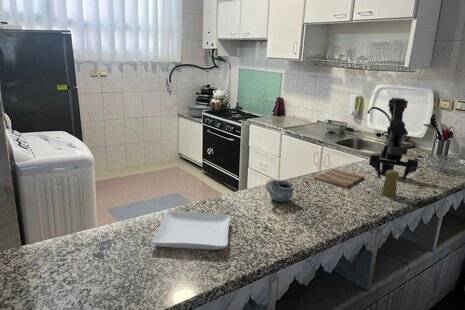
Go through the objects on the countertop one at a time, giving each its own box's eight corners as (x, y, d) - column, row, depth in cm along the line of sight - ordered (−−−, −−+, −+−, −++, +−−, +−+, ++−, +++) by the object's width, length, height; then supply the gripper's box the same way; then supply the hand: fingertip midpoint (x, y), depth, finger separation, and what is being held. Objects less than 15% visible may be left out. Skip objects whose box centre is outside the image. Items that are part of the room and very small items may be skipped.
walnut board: (333, 170, 177) (333, 168, 177) (364, 178, 167) (364, 176, 167) (314, 179, 163) (314, 176, 162) (346, 188, 152) (347, 185, 152)
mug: (297, 201, 135) (299, 176, 133) (278, 209, 126) (281, 184, 124) (277, 194, 142) (279, 171, 139) (258, 201, 133) (260, 177, 130)
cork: (393, 193, 149) (397, 168, 146) (398, 198, 143) (402, 173, 141) (378, 191, 150) (382, 167, 147) (383, 197, 144) (387, 172, 141)
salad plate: (167, 219, 115) (167, 209, 114) (230, 222, 115) (230, 213, 114) (150, 252, 95) (150, 241, 94) (227, 257, 94) (227, 246, 94)
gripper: (373, 136, 148) (369, 166, 141) (422, 141, 141) (419, 174, 134) (371, 150, 157) (366, 179, 150) (416, 155, 150) (414, 187, 143)
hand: (391, 179), depth 144 cm, fingers open, 9 cm apart
